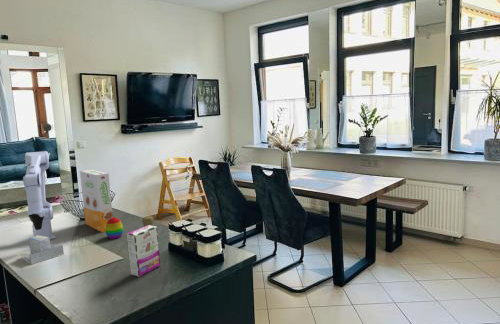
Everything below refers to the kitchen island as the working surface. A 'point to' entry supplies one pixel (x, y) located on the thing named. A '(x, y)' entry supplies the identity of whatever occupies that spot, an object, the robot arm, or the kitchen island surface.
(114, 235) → the decorative egg
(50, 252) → the jig bracket
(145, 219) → the cork
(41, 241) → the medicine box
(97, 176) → the cereal box
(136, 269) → the candy bar box
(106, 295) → the kitchen island surface
